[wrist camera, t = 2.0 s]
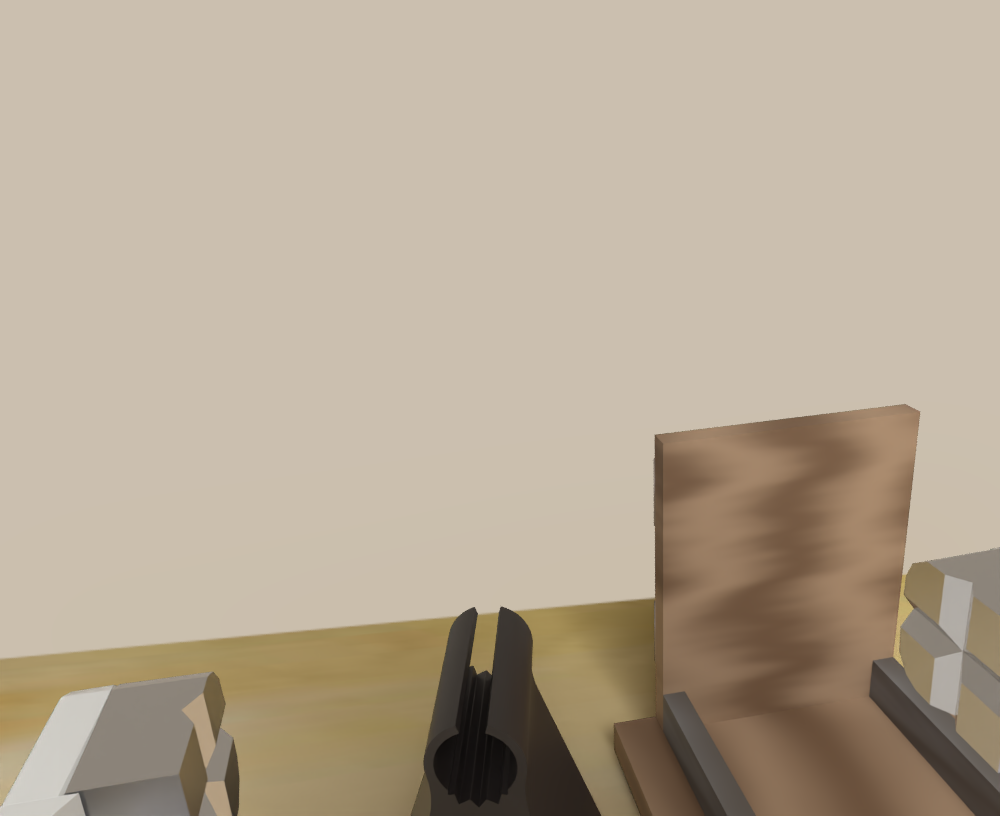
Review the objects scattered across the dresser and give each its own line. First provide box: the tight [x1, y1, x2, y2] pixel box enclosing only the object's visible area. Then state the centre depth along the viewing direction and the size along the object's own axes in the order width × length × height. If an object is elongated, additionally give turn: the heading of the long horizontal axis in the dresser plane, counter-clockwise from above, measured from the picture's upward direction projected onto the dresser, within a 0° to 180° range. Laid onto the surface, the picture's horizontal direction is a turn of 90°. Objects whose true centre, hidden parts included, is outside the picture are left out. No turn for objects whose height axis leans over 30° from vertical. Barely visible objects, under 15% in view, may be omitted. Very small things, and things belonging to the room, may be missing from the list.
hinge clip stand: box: [614, 404, 1000, 816], centre depth 31 cm, size 15×15×16 cm
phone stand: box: [411, 607, 601, 816], centre depth 28 cm, size 9×6×12 cm, turn 86°
